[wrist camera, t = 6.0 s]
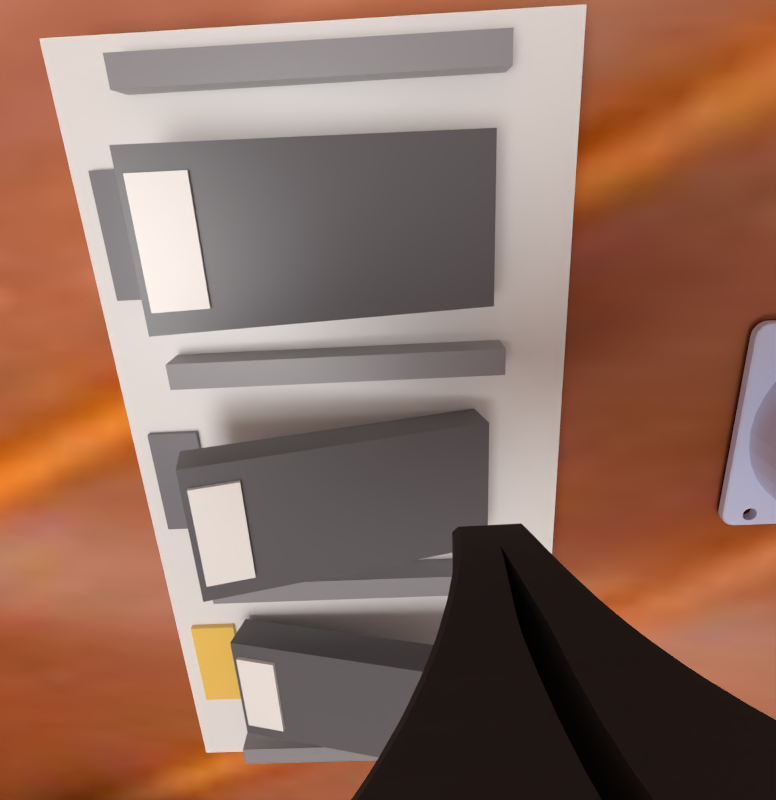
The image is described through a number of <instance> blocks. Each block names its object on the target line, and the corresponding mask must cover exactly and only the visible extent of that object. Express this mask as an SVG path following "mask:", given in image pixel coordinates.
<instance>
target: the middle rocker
mask: <svg viewBox="0 0 776 800" xmlns="http://www.w3.org/2000/svg"><path fill="white" fill-rule="evenodd" d="M176 474H177V479H178V484H179V488H180V493H181V498H182V503H183V508H184V512H185V517H186V522H187V527H188V532H189V536H190V541H191V546H192V551H193V555H194V560H195V565H196V570H197V575H198V579H199V584H200V589H201V594H202V599H203V602H206V601H211V600H216V599H221V598H226V597H231V596H236V595H241V594H246V593H251V592H256V591H261V590H266V589H271V588H277V587H282V586H287V585H292V584H297V583H302V582H307V581H312V580H317V579H322V578H327V577H332V576H337V575H342V574H347V573H352V572H357V571H362V570H367V569H372V568H377V567H382V566H387V565H393V564H398V563H403V562H408V561H413V560H418V559H423V558H428V557H433V556H438V555H443V554H448V553H452V532H453V531H454V530H455V529H456V528H457V527H462V526H481V525H488V478H489V422H488V421H487V420H486V419H485V418H484V417H483V416H482V415H481V414H480V413H478V412H477V411H476V410H475V409H467V410H461V411H454V412H447V413H440V414H433V415H426V416H419V417H412V418H405V419H398V420H392V421H385V422H378V423H371V424H364V425H357V426H350V427H343V428H336V429H329V430H323V431H316V432H309V433H302V434H295V435H288V436H281V437H274V438H267V439H261V440H254V441H247V442H240V443H233V444H226V445H219V446H212V447H205V448H198V449H192V450H185V451H180V452H179V457H178V462H177V466H176Z"/></svg>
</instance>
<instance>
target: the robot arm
mask: <svg viewBox="0 0 776 800" xmlns="http://www.w3.org/2000/svg"><path fill="white" fill-rule="evenodd" d="M750 508H751V509H750ZM747 509H750V511H749V512H748V513H747V514H743V513H744V511H746V510H747ZM718 511H719V516H720V518H721V519H722V520H723V521H724V522H725V523H727V524H729V525H753V524H776V320H768V321H764V322H761V323H759V324H758V325H756V327H755V328H754V329H753V330H752V333H751V335H750V341H749V346H748V352H747V357H746V363H745V368H744V373H743V379H742V384H741V390H740V395H739V401H738V406H737V412H736V417H735V423H734V428H733V434H732V439H731V445H730V450H729V455H728V461H727V466H726V472H725V477H724V483H723V488H722V494H721V499H720V505H719V510H718ZM452 563H453V573H452V578H451V583H450V588H449V593H448V598H447V602H446V606H445V609H444V613H443V616H442V619H441V623H440V626H439V630H438V633H437V636H436V639H435V642H434V645H433V647H432V650H431V653H430V655H429V658H428V660H427V663H426V665H425V668H424V670H423V673H422V675H421V677H420V680H419V682H418V684H417V686H416V688H415V690H414V693H413V695H412V697H411V699H410V701H409V703H408V705H407V707H406V709H405V711H404V713H403V715H402V717H401V719H400V721H399V723H398V725H397V727H396V728H395V730H394V732H393V733H392V735H391V737H390V739H389V740H388V742H387V744H386V746H385V747H384V749H383V751H382V753H381V754H380V756H379V758H378V759H377V761H376V763H375V765H374V766H373V768H372V769H371V771H370V773H369V774H368V776H367V777H366V779H365V780H364V782H363V783H362V785H361V786H360V788H359V789H358V791H357V792H356V793H355V795H354V796H353V798H352V799H351V800H776V720H775V719H773V718H771V717H769V716H768V715H766V714H764V713H762V712H760V711H759V710H757V709H755V708H753V707H751V706H750V705H748V704H746V703H745V702H743V701H741V700H740V699H738V698H736V697H735V696H733V695H732V694H730V693H728V692H727V691H725V690H723V689H722V688H720V687H718V686H717V685H715V684H713V683H712V682H710V681H709V680H707V679H705V678H704V677H702V676H701V675H699V674H698V673H696V672H695V671H693V670H692V669H690V668H688V667H687V666H685V665H684V664H682V663H681V662H680V661H678V660H677V659H675V658H674V657H673V656H671V655H670V654H668V653H667V652H666V651H664V650H663V649H661V648H660V647H658V646H657V645H656V644H654V643H653V642H651V641H650V640H649V639H647V638H646V637H645V636H643V635H642V634H641V633H639V632H638V631H637V630H635V629H634V628H633V627H632V626H630V625H629V624H628V623H627V622H625V621H624V620H623V619H622V618H621V617H619V616H618V615H617V614H616V613H615V612H613V611H612V610H611V609H610V608H608V607H607V606H606V605H605V604H604V603H603V602H602V601H600V600H599V599H598V598H597V597H596V596H595V595H594V594H593V593H592V592H590V591H589V590H588V589H587V588H586V587H585V586H584V585H583V584H582V583H581V582H580V581H579V580H578V579H576V578H575V577H574V576H573V575H572V574H571V573H570V572H569V571H568V570H567V569H566V568H565V567H564V566H563V565H562V564H561V563H560V562H559V561H558V560H557V559H556V558H555V557H554V556H553V555H552V554H551V553H550V552H549V551H548V550H547V549H546V548H545V547H544V546H543V545H542V544H541V543H540V542H539V541H538V540H537V539H536V538H535V537H534V535H533V534H532V533H531V532H530V531H529V530H528V529H527V528H526V527H525V526H523V525H522V524H521V523H520V524H501V525H481V526H462V527H457V528H456V529H455V530H454V531H453V532H452Z"/></svg>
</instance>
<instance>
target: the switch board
mask: <svg viewBox="0 0 776 800" xmlns="http://www.w3.org/2000/svg"><path fill="white" fill-rule="evenodd" d="M586 5H587V4H583V5H567V6H551V7H535V8H519V9H503V10H487V11H471V12H455V13H440V14H424V15H408V16H392V17H376V18H360V19H344V20H328V21H312V22H296V23H280V24H264V25H248V26H232V27H216V28H200V29H184V30H168V31H152V32H136V33H120V34H104V35H88V36H72V37H56V38H40V39H39V40H40V44H41V48H42V53H43V57H44V61H45V65H46V70H47V74H48V78H49V82H50V87H51V91H52V95H53V100H54V104H55V108H56V112H57V117H58V121H59V125H60V129H61V134H62V138H63V142H64V147H65V151H66V155H67V159H68V164H69V168H70V172H71V176H72V181H73V185H74V189H75V193H76V198H77V202H78V206H79V211H80V215H81V219H82V223H83V228H84V232H85V236H86V240H87V245H88V249H89V253H90V258H91V262H92V266H93V270H94V275H95V279H96V283H97V287H98V292H99V296H100V300H101V305H102V309H103V313H104V317H105V322H106V326H107V330H108V334H109V339H110V343H111V347H112V351H113V356H114V360H115V364H116V369H117V373H118V377H119V381H120V386H121V390H122V394H123V398H124V403H125V407H126V411H127V416H128V420H129V424H130V428H131V433H132V437H133V441H134V445H135V450H136V454H137V458H138V463H139V467H140V471H141V475H142V480H143V484H144V488H145V492H146V497H147V501H148V505H149V509H150V514H151V518H152V522H153V527H154V531H155V535H156V539H157V544H158V548H159V552H160V556H161V561H162V565H163V569H164V574H165V578H166V582H167V586H168V591H169V595H170V599H171V603H172V608H173V612H174V616H175V621H176V625H177V629H178V633H179V638H180V642H181V646H182V650H183V655H184V659H185V663H186V667H187V672H188V676H189V680H190V685H191V689H192V693H193V697H194V702H195V706H196V710H197V714H198V719H199V723H200V727H201V732H202V736H203V740H204V744H205V749H206V753H207V752H243V753H244V758H245V763H246V764H260V763H296V762H333V761H370V760H377V759H378V758H379V757H373V756H368V755H363V754H358V753H352V752H347V751H342V750H336V749H331V748H326V747H321V746H315V745H310V744H305V743H300V742H294V741H289V740H284V739H278V738H273V737H268V736H263V735H257V734H252V733H248V732H247V727H246V722H245V717H244V711H243V706H242V701H241V696H240V691H239V686H238V680H237V675H236V670H235V665H234V660H233V655H232V650H231V644H230V642H231V641H232V639H233V638H234V636H235V635H236V633H237V631H238V630H239V628H240V627H241V625H242V624H243V622H244V621H245V619H251V620H258V621H266V622H273V623H280V624H287V625H294V626H302V627H309V628H316V629H323V630H330V631H338V632H345V633H352V634H359V635H366V636H374V637H381V638H388V639H395V640H402V641H410V642H417V643H424V644H431V645H434V642H435V639H436V636H437V633H438V630H439V626H440V623H441V619H442V616H443V613H444V609H445V606H446V602H447V598H448V593H449V588H450V583H451V578H452V573H453V563H452V553H448V554H443V555H438V556H433V557H428V558H423V559H418V560H413V561H408V562H403V563H398V564H393V565H387V566H382V567H377V568H372V569H367V570H362V571H357V572H352V573H347V574H342V575H337V576H332V577H327V578H322V579H317V580H312V581H307V582H302V583H297V584H292V585H287V586H282V587H277V588H271V589H266V590H261V591H256V592H251V593H246V594H241V595H236V596H231V597H226V598H221V599H216V600H211V601H206V602H203V599H202V594H201V589H200V584H199V579H198V575H197V570H196V565H195V560H194V555H193V551H192V546H191V541H190V536H189V532H188V527H187V522H186V517H185V512H184V508H183V503H182V498H181V493H180V488H179V484H178V479H177V474H176V466H177V462H178V457H179V452H180V451H185V450H192V449H198V448H205V447H212V446H219V445H226V444H233V443H240V442H247V441H254V440H261V439H267V438H274V437H281V436H288V435H295V434H302V433H309V432H316V431H323V430H329V429H336V428H343V427H350V426H357V425H364V424H371V423H378V422H385V421H392V420H398V419H405V418H412V417H419V416H426V415H433V414H440V413H447V412H454V411H461V410H467V409H475V410H476V411H477V412H478V413H480V414H481V415H482V416H483V417H484V418H485V419H486V420H487V421H488V422H489V478H488V525H501V524H520V523H521V524H522V525H523V526H525V527H526V528H527V529H528V530H529V531H530V532H531V533H532V534H533V535H534V537H535V538H536V539H537V540H538V541H539V542H540V543H541V544H542V545H543V546H544V547H545V548H546V549H547V550H548V551H549V552H550V553H551V554H552V545H553V530H554V514H555V498H556V482H557V466H558V450H559V434H560V418H561V402H562V386H563V371H564V355H565V339H566V323H567V307H568V291H569V275H570V259H571V243H572V227H573V211H574V196H575V180H576V164H577V148H578V132H579V116H580V100H581V84H582V68H583V52H584V37H585V21H586ZM480 128H497V148H496V211H495V274H494V306H492V307H480V308H469V309H458V310H446V311H435V312H424V313H412V314H401V315H390V316H378V317H367V318H356V319H344V320H333V321H321V322H310V323H299V324H287V325H276V326H265V327H253V328H242V329H231V330H219V331H208V332H197V333H185V334H174V335H163V336H151V337H149V334H148V329H147V325H146V320H145V315H144V310H143V305H142V300H141V296H140V291H139V286H138V281H137V276H136V272H135V267H134V262H133V257H132V252H131V248H130V243H129V238H128V233H127V228H126V224H125V219H124V214H123V209H122V204H121V200H120V195H119V190H118V185H117V180H116V176H115V171H114V166H113V161H112V156H111V152H110V147H109V145H119V144H141V143H164V142H186V141H209V140H232V139H254V138H277V137H299V136H322V135H344V134H367V133H389V132H412V131H434V130H457V129H480Z"/></svg>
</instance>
